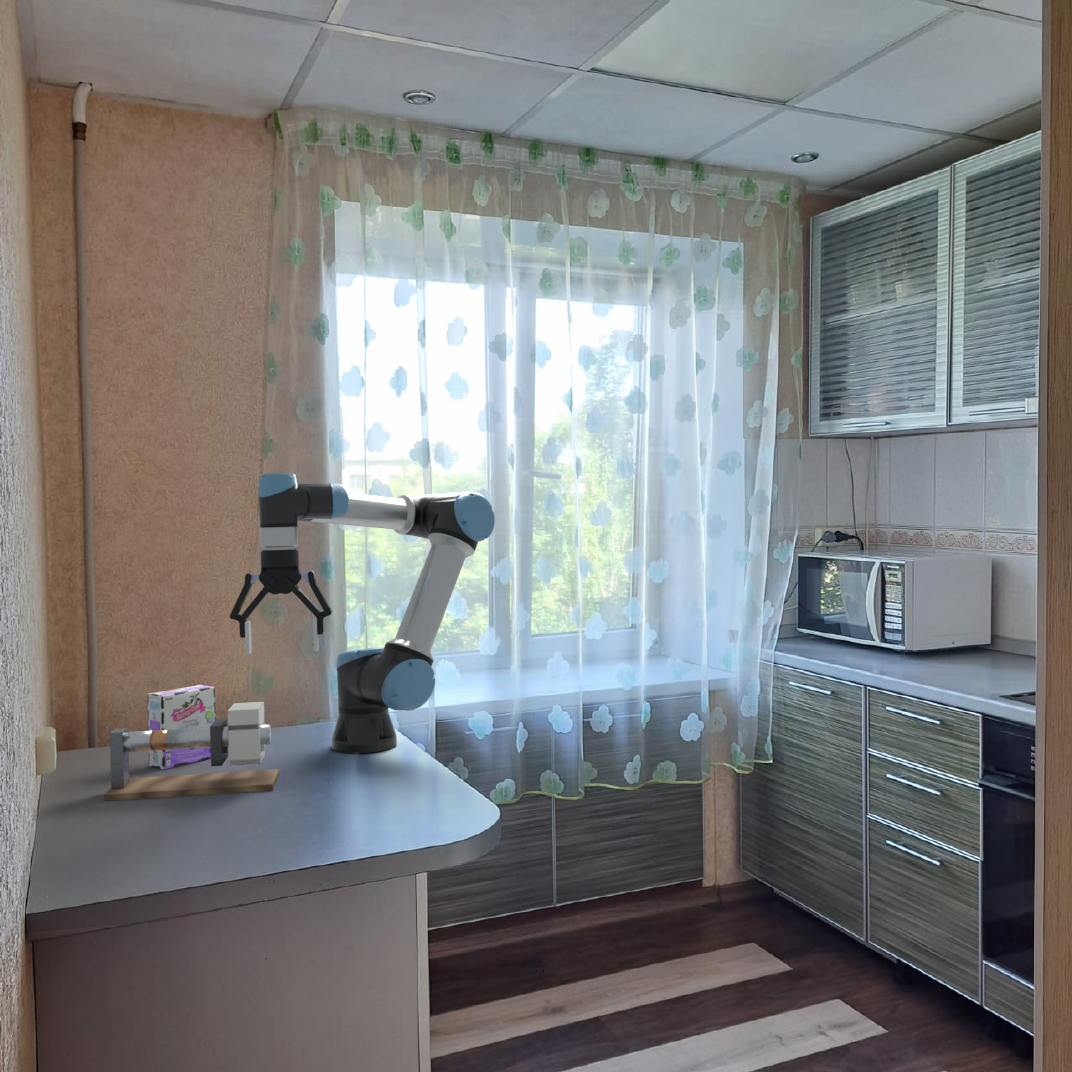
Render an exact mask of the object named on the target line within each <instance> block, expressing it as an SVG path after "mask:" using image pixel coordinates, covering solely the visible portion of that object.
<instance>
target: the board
mask: <svg viewBox="0 0 1072 1072" xmlns="http://www.w3.org/2000/svg"><path fill="white" fill-rule="evenodd" d="M279 777H280V768H277V769H258V770H245V771H244V770H243V771H242V770H241V771H228V772H225V771H224V772H212V773H209V772H207V773H193V774H178V775H174V774H173V775H159V776H145V777H129V782H130V783H129V784H128V785H127V786H126V787H125V788H121V789H111V787H110V788H109V789H108V790H107V791H105V793H104V794H103V797H102V798H103V799H102V801H103V802H109V801H123V800H139V799H142V800H143V799H154V798H155V799H159V798H171V797H186V796H187V797H189V796H202V795H206V796H207V795H218V794H220V795H221V794H234V793H250V792H251V793H252V792H266V791H267V792H268V791H273V790H274V789H275V786H276V784H277V782H278V778H279Z"/></svg>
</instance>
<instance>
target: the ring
mask: <svg viewBox="0 0 1072 1072" xmlns="http://www.w3.org/2000/svg"><path fill="white" fill-rule="evenodd" d="M227 726H228V717H222V718H218V717H217V718H216V720H215V722H214V723H213V724H212V725H211V726H210V744H211V758H210V767H222V766H223V764H225V762H226V760H227V759H229V746H226V747H222V733H221V730H222V729H223V727H227Z"/></svg>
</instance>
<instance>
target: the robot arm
mask: <svg viewBox="0 0 1072 1072" xmlns="http://www.w3.org/2000/svg"><path fill="white" fill-rule="evenodd" d="M257 497H258V511H259V541H260V543H259V544H260V547H261V548H262V549H263V550H261V551H260V573H258V574H257V573H252V572H247V573H246V574H245V575H244V584H243V586H242V588H241V591H240V593H239V595H238V597H237V600H236V602H235V603H234V606H233V608H232V610H231V612H230V614H229V618H230V619H231V620H234V621H237V622H238V623H239V636H240V638H242V639H243V638H245V639H244V645H245V655H250V654H252V653H253V652H252V649H253V648H252V623H251V622H252V621H251V620H248V618H249V617H250V616H251V615H252V613H253V612H254V611H255V610H256V609H257V608H258V606H259V605H260V603H261V602H262V601H263V599H264V598H265V597H267V595H268V594H271V595H279V594H283V595H289V594H291V593H292V594H293V595H295V597H297V598H298V599H299V600H300V602H302V603H303V604H304V606H305V607H306V608H307V609H308V610H309V611H310V613H312V614H313V615H314V616H315V618H313V620H312V629H313V631H312V632H313V633H312V634H313V636H312V637H313V652H315V653H316V652H318V651H319V649H320V645H319V643H320V641H319V635H323V634H324V630H325V627H324V619H325V618H326V617H329V616H331V614H332V613H333V610H332V608H331V606H330V605H329V603H328V600H327V598H326V597H325V595H324V593H323V592H322V590H321V588H320V586H319V585H318V583H317V582H318V581H317V580H316V579H317V578H316V573H315V572H314V571H313V570H309V572H301V571H300V565H299V564H300V561H299V555H300V554H299V550H298V549H297V548H296V547H298V546H299V534H298V531H299V530H298V525H299V524H298V522H313V523H322V524H330V525H331V524H332V525H333V524H334V525H341V526H342V525H344V526H352V527H353V526H354V527H365V528H374V529H375V528H377V529H386V530H387V529H388V530H394V532H395V533H397V534H398V535H406V536H413V537H417V538H422V539H427V540H429V543H430V545H431V546H430V548H429V551H428V553H427V556H426V558H425V561H424V564H423V567H422V569H421V571H420V574H419V577H418V579H417V582H416V585H415V586H414V589H413V591H412V595H411V597H410V598H409V602H408V603H407V607H406V610H405V612H404V615H403V617H402V620H401V622H400V625H399V627H398V628H397V629H398V630H397V633H396V634H395V636H394V638H393V639H391V640H388V641H387V642H385V644H384V646H380V647H379V646H378V647H371V648H360V649H353V650H348V651H342V652H340V653H339V654H338V655H337V659H336V668H335V670H336V673H337V674H336V675H337V676H336V678H337V680H336V681H337V706H338V710H337V711H338V716H337V720H336V723H335V726H334V730H333V733H332V737H331V749H332V750H333V751H334V752H339V753H343V754H370V753H378V752H382V751H386V750H390V749H392V748H394V747H396V746H397V744H398V739H397V736H398V735H397V732H396V730H395V727H394V725H393V724H394V723H393V721H392V719H391V716H390V713H389V709H391V710H392V711H400V712H402V711H406V712H409V711H414V710H417V709H418V708H421V707H423V705H425V704H426V703H427V702H428V701H429V699H430V698H431V696H432V694H433V692H434V690H435V686H436V677H435V671H434V669H433V667H432V666H433V663H434V657H433V654H432V652H431V650H432V648H433V645H434V643H435V640H436V637H437V635H438V631H439V630H440V627H441V623H442V621H443V619H444V615H445V613H446V610H447V608H448V605H449V603H450V600H451V597H452V595H453V592H454V589H455V586H456V585H457V581H458V579H459V576H460V573H461V572H462V568H463V566H464V563H465V560H466V558H469V557H471V556H473V555H474V554H475V552H476V549H477V547H478V544H479V542H483V541H484V540H486V539H488V538H489V537H490V536H491V535H492V533H493V531H494V528H495V521H496V520H495V519H496V518H495V512H494V511H493V507H492V503H490V501H489V500H488V499H487V497H486V496H484V495H483V494H481V493H479V492H475V491H465V490H463V491H461V492H448V493H447V492H444V493H432V494H423V495H406V494H403V495H399V496H398V497H386V496H378V495H370V494H360V493H352V492H348V489H347V488H346V487H345V486H344V485H343V484H341V483H331V482H328V483H327V482H325V483H324V482H322V483H320V482H319V483H318V482H315V483H314V482H313V483H309V482H308V483H301V482H300V483H299V482H298V481H297V476H296V474H295V473H289V472H273V473H272V472H271V473H270V472H269V473H263V474H262V475H260V477H259V479H258V494H257ZM302 579H303V580H304V581H305V582H306V583H308V584H309V586H310V588H311V591H312V592H313V594H314V596H315V598H316V599H317V601H318V602H319V605H320V606H321V608H322V610H323V611H321V609H319V608H318V606H317V605H316V604H315V603H314V602H313V601H312V600H311V599H310V598H309V597H308V595H307V594H306V593H305V592H304V591H303V590H302V589H301V587H300V586H299V585H298V584H299V583H300V581H301V580H302ZM258 580H259V582H260V583H261V584H262V586H263V588H262V589H261V590H260V591H259V593H258V594H257V595H256V596H255V598H254V599H253V600H252V602H251V603H250V604H249V605H248V607H246V609H245V610H244V611H243V612H242V614H240V612H241V610H242V609H243V606H244V604H245V601H246V599H247V597H248V595H249V593H250V591H251V589H252V587H253V585H255V584H256V583H257V581H258Z"/></svg>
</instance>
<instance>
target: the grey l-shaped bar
mask: <svg viewBox="0 0 1072 1072" xmlns="http://www.w3.org/2000/svg"><path fill="white" fill-rule="evenodd" d="M221 733H222V747H226V746H228V747H229V738H228V725H227V727H223V729H222V730H221ZM271 741H272V726H271V724H270V723H269V724H268V723H267V724H266V723H265V724H264V725H261V727H260V745H262V744H265V745H270V744H271ZM209 747H211V744H210V727H208V728H189V729H171V730H152V731H148V730H135V731H129V728H128V727H124V728H123V727H122V728H121V727H120V728H115V729H113V730H111V731H110V732H109V755H110V757H109V758H110V782H111V783H110V788H111V789H121V788H125V787H126V786H127V785H128V784H129V783H130V782H129V778H130V761H129V760H130V757H129V753H135V752H149V751H155V750H173V749H191V748H209Z"/></svg>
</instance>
